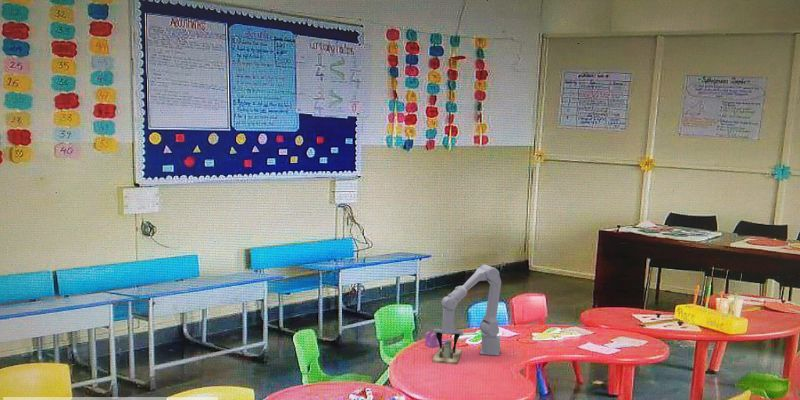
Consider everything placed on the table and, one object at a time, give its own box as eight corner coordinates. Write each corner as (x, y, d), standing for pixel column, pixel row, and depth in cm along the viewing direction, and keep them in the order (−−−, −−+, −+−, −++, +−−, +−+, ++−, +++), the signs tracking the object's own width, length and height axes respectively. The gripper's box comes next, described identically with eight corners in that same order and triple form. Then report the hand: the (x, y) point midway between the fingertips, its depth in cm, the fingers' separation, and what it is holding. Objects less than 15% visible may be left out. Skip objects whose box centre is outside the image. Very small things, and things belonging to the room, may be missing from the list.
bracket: (431, 348, 372) (431, 334, 372) (425, 345, 377) (425, 332, 376) (451, 344, 379) (452, 331, 379) (445, 341, 384) (445, 328, 383)
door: (451, 352, 363) (451, 340, 362) (448, 358, 353) (448, 346, 352) (446, 351, 363) (446, 339, 363) (443, 357, 353) (443, 345, 353)
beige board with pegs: (462, 351, 367) (462, 344, 367) (457, 364, 347) (457, 357, 347) (438, 349, 369) (438, 342, 369) (432, 362, 350) (432, 354, 349)
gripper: (432, 322, 354) (431, 349, 355) (462, 324, 351) (461, 352, 353) (434, 318, 361) (433, 345, 362) (464, 320, 358) (463, 347, 359)
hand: (447, 348), depth 358 cm, fingers open, 6 cm apart
